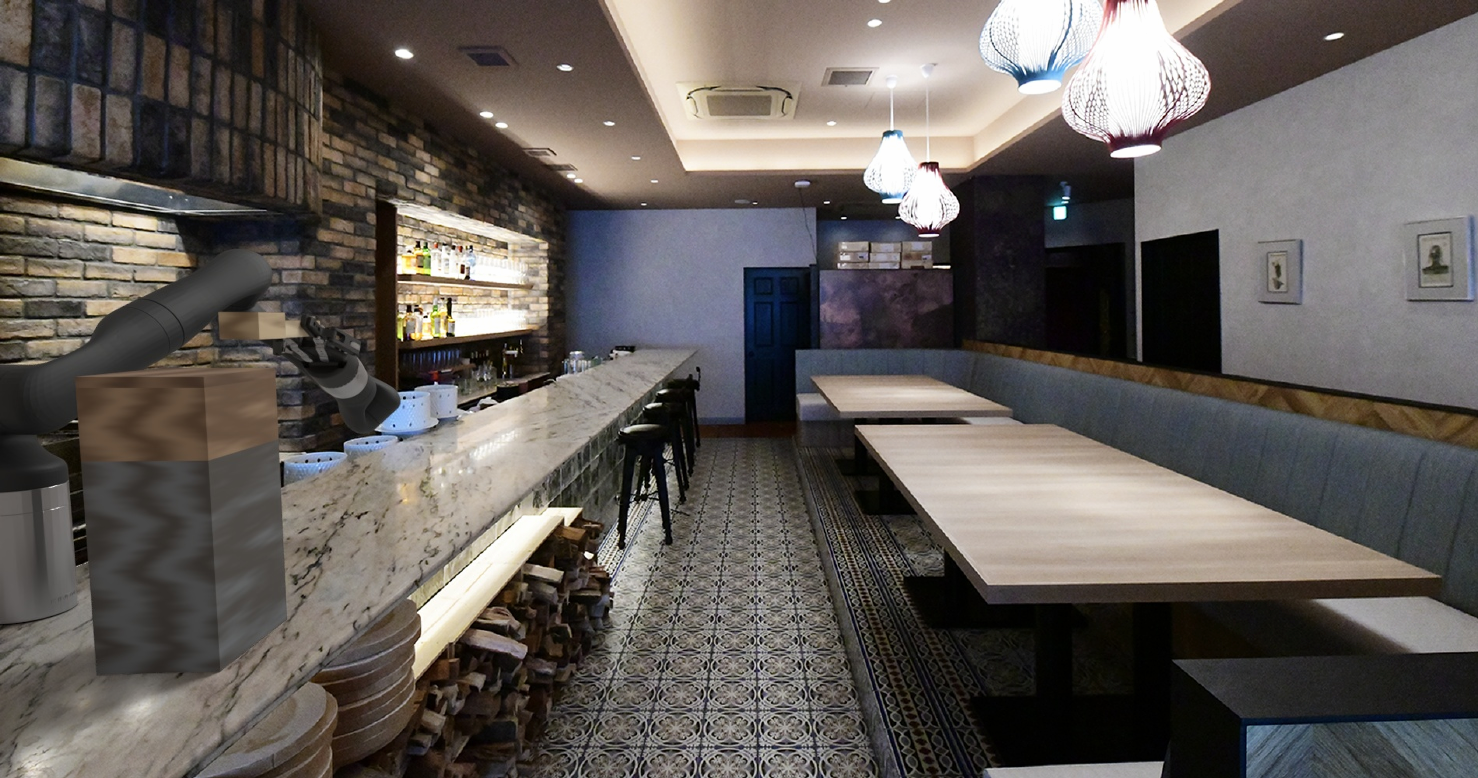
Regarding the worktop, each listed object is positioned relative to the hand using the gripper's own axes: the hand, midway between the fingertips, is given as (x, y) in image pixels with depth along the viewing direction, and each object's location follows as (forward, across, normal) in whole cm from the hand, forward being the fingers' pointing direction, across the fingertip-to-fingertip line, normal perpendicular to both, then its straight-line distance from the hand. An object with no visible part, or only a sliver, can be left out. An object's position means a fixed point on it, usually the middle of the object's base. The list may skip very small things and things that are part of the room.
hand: (291, 319), depth 114 cm
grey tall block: (+3, 0, +47) cm, 47 cm away
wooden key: (+2, 0, +4) cm, 5 cm away
